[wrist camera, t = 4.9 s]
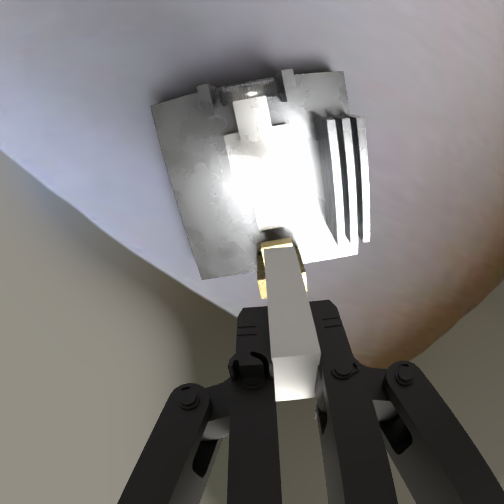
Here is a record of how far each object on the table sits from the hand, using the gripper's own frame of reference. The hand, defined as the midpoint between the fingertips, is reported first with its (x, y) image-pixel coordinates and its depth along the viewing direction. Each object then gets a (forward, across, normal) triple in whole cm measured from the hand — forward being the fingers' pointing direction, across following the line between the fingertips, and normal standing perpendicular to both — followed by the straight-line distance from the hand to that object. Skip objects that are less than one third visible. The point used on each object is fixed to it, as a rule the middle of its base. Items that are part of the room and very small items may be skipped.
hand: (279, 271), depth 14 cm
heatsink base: (+15, 0, +1) cm, 15 cm away
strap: (+10, 0, +4) cm, 11 cm away
